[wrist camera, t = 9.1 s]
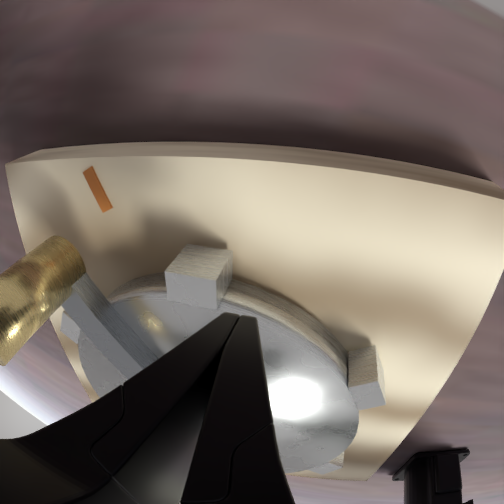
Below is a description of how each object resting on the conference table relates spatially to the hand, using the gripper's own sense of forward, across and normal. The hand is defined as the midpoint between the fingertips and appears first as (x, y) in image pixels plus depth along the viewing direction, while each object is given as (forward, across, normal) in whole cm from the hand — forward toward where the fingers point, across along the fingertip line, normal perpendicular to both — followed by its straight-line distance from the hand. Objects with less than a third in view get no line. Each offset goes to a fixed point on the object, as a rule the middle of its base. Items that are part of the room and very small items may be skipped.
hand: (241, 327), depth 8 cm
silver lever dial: (+4, +2, +9) cm, 10 cm away
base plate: (+7, +2, +9) cm, 12 cm away
